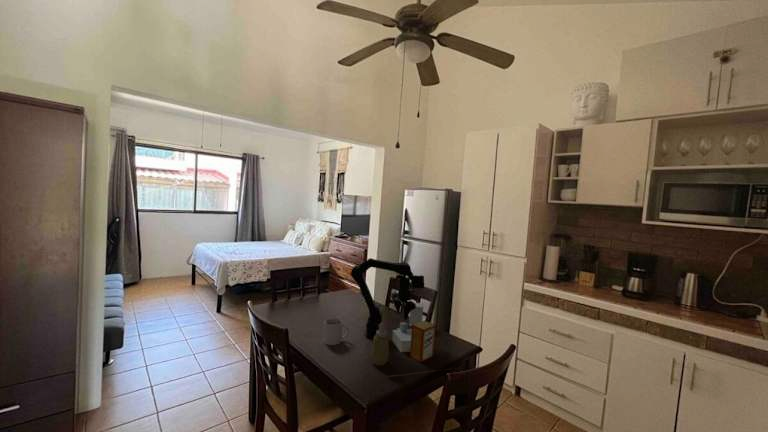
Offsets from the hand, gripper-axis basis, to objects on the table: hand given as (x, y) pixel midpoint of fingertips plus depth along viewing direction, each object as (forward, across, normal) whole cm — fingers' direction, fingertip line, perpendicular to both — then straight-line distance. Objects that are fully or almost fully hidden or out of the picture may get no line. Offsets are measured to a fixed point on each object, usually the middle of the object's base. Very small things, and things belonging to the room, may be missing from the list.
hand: (401, 316), depth 162 cm
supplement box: (+12, +14, -16) cm, 25 cm away
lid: (+7, -7, +1) cm, 10 cm away
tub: (+12, -8, +1) cm, 15 cm away
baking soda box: (+12, -20, -2) cm, 23 cm away
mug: (+12, +5, +34) cm, 37 cm away
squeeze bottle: (+12, -20, +19) cm, 30 cm away
